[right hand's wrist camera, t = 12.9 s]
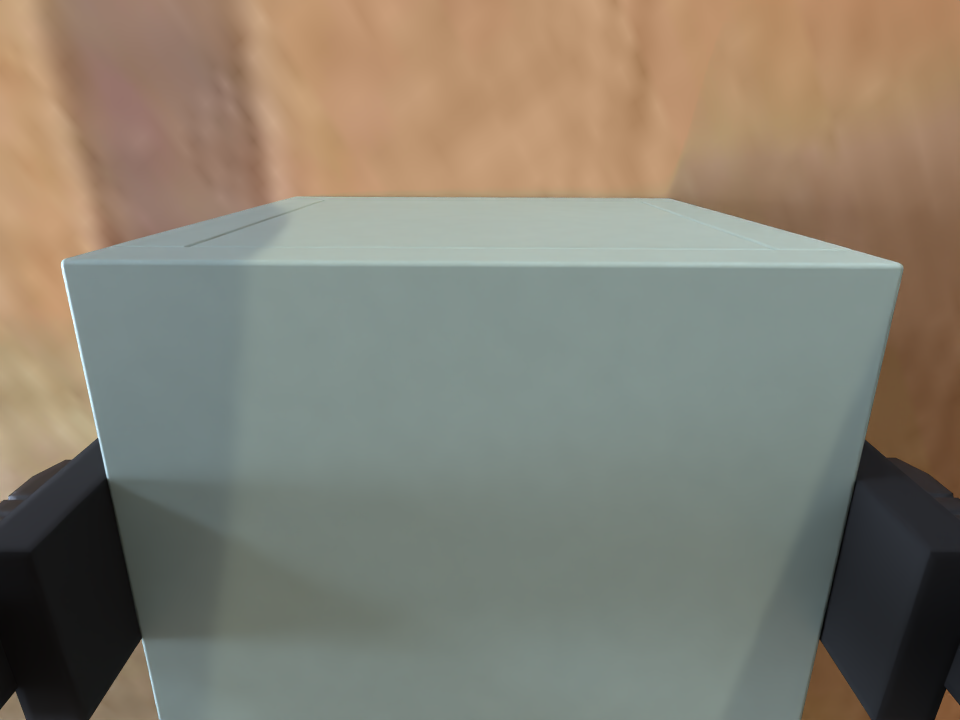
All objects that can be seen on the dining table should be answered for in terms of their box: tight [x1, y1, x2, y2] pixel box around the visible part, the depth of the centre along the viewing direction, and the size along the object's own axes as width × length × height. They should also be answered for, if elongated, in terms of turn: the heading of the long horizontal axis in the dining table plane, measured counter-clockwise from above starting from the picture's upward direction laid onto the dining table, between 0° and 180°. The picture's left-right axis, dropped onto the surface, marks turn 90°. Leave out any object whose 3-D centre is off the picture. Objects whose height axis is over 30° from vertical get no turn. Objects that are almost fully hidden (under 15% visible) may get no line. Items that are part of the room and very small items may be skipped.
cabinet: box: [61, 197, 903, 720], centre depth 16 cm, size 22×10×10 cm, turn 0°
